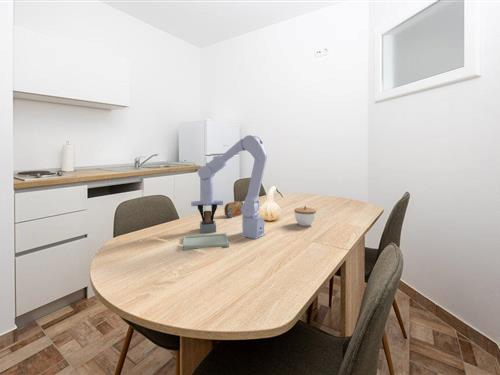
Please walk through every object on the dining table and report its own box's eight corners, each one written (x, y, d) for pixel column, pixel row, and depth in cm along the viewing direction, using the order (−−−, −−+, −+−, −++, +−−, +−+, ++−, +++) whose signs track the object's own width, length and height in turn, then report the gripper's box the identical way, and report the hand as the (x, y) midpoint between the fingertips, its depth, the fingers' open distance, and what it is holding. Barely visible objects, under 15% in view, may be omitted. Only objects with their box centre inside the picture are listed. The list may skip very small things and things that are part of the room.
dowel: (213, 229, 135) (213, 211, 134) (208, 231, 132) (207, 212, 131) (207, 228, 137) (207, 210, 136) (202, 230, 134) (201, 211, 133)
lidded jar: (314, 222, 151) (314, 204, 149) (316, 227, 140) (317, 209, 139) (293, 221, 152) (294, 204, 151) (294, 227, 141) (295, 208, 140)
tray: (226, 236, 126) (225, 233, 126) (229, 247, 114) (229, 243, 113) (184, 239, 123) (184, 235, 123) (182, 250, 110) (182, 246, 110)
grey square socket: (215, 228, 139) (215, 220, 138) (216, 233, 132) (215, 224, 131) (200, 229, 137) (199, 221, 137) (200, 234, 130) (200, 225, 130)
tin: (227, 219, 158) (227, 204, 156) (223, 218, 159) (223, 203, 158) (244, 214, 169) (244, 200, 168) (240, 213, 171) (240, 199, 170)
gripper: (222, 190, 137) (222, 217, 139) (191, 191, 134) (192, 219, 136) (223, 192, 130) (223, 221, 132) (190, 193, 128) (191, 223, 129)
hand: (207, 220), depth 134 cm, fingers closed on dowel, 4 cm apart
